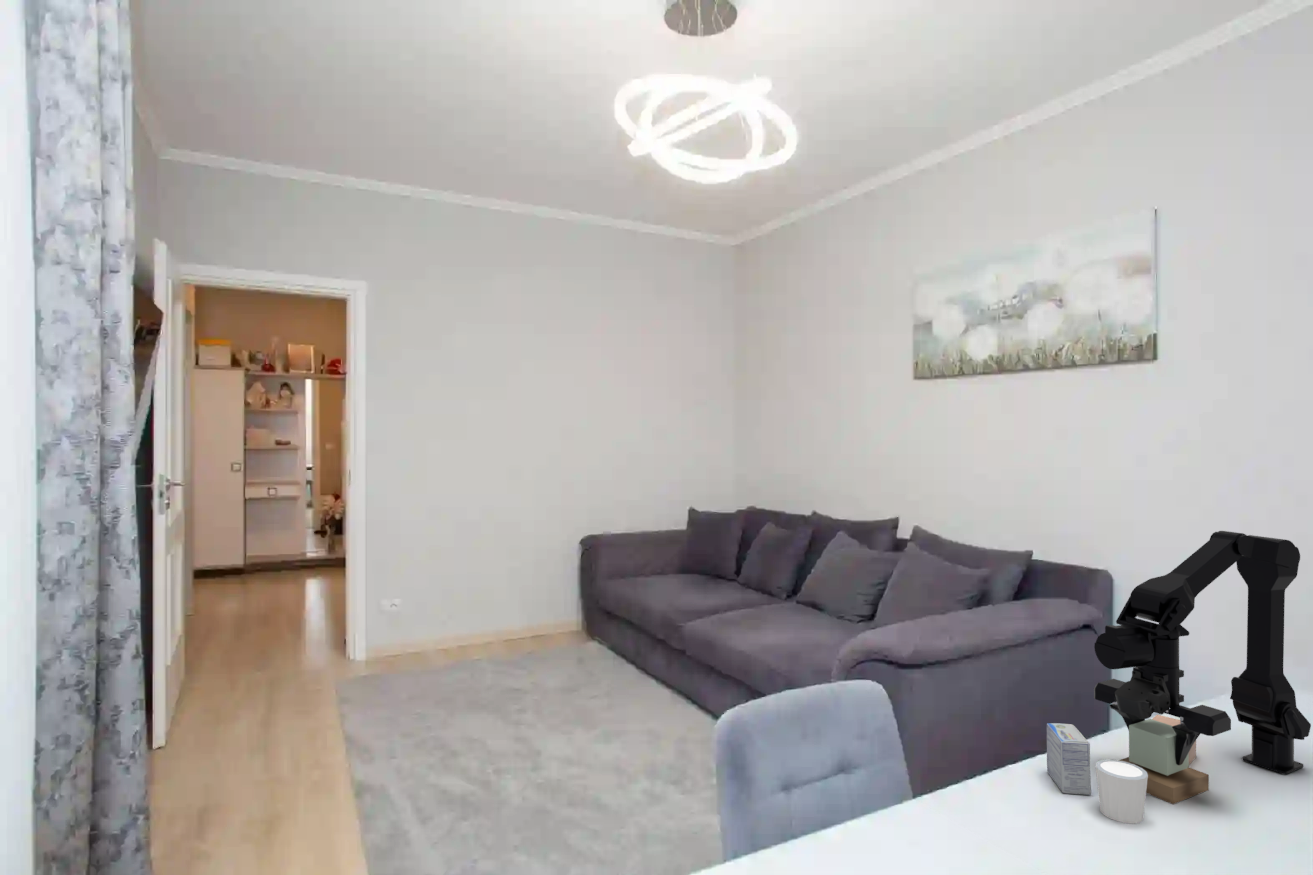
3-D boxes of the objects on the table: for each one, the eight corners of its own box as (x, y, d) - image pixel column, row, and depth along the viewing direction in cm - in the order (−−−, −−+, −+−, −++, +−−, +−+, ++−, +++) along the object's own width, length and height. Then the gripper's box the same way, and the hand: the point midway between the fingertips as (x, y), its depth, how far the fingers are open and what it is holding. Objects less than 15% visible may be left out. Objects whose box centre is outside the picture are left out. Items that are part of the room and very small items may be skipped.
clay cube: (1157, 746, 138) (1157, 714, 138) (1196, 757, 134) (1196, 723, 134) (1147, 756, 134) (1147, 723, 134) (1187, 767, 130) (1187, 733, 130)
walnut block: (1145, 765, 130) (1145, 751, 130) (1208, 789, 121) (1208, 774, 121) (1109, 777, 126) (1109, 763, 126) (1173, 804, 117) (1173, 788, 117)
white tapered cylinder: (1130, 830, 110) (1130, 782, 109) (1085, 809, 116) (1085, 764, 116) (1158, 818, 113) (1157, 772, 113) (1112, 798, 119) (1112, 755, 119)
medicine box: (1091, 796, 120) (1091, 742, 120) (1061, 793, 121) (1061, 740, 120) (1074, 774, 127) (1074, 723, 127) (1046, 771, 128) (1045, 721, 128)
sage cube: (1150, 753, 128) (1150, 718, 127) (1188, 767, 122) (1188, 731, 122) (1129, 760, 125) (1128, 725, 125) (1167, 775, 119) (1167, 738, 119)
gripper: (1073, 655, 128) (1073, 745, 128) (1192, 688, 111) (1192, 792, 112) (1113, 646, 133) (1113, 733, 133) (1232, 676, 116) (1233, 775, 117)
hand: (1158, 756), depth 124 cm, fingers closed on sage cube, 6 cm apart
